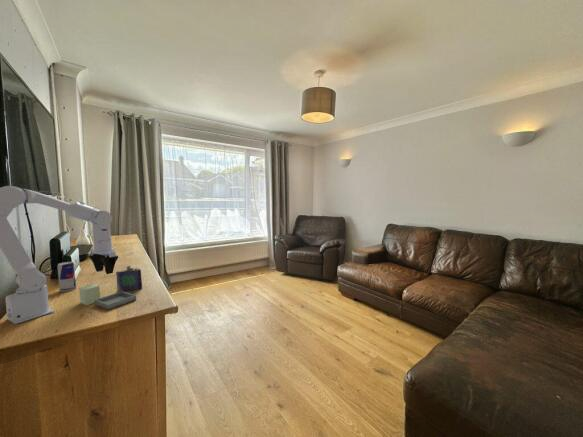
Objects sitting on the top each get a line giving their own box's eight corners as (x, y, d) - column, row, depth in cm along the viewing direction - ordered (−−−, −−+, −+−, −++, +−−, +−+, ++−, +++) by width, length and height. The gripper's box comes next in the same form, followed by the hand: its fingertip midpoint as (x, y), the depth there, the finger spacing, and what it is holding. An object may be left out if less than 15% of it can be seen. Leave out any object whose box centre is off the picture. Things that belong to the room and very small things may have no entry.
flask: (116, 292, 101) (114, 268, 101) (119, 290, 104) (117, 266, 103) (141, 289, 104) (139, 265, 104) (143, 287, 107) (141, 264, 106)
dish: (108, 310, 85) (107, 304, 85) (94, 305, 89) (94, 300, 89) (136, 300, 93) (136, 295, 93) (122, 295, 98) (122, 291, 98)
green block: (86, 305, 89) (84, 289, 89) (80, 303, 91) (79, 288, 91) (100, 300, 93) (99, 285, 93) (94, 298, 95) (93, 284, 95)
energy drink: (72, 290, 104) (70, 264, 103) (57, 292, 102) (54, 265, 101) (78, 286, 109) (76, 261, 108) (63, 288, 107) (61, 262, 106)
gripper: (123, 239, 98) (125, 271, 99) (104, 237, 104) (106, 267, 105) (103, 242, 91) (105, 276, 92) (84, 239, 98) (86, 272, 99)
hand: (104, 272), depth 98 cm, fingers open, 7 cm apart
